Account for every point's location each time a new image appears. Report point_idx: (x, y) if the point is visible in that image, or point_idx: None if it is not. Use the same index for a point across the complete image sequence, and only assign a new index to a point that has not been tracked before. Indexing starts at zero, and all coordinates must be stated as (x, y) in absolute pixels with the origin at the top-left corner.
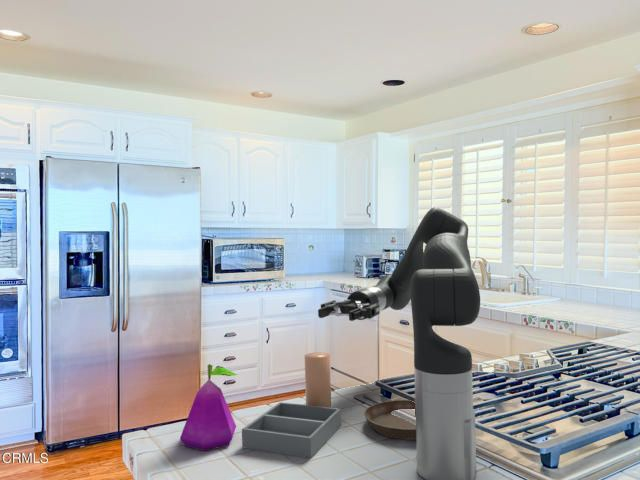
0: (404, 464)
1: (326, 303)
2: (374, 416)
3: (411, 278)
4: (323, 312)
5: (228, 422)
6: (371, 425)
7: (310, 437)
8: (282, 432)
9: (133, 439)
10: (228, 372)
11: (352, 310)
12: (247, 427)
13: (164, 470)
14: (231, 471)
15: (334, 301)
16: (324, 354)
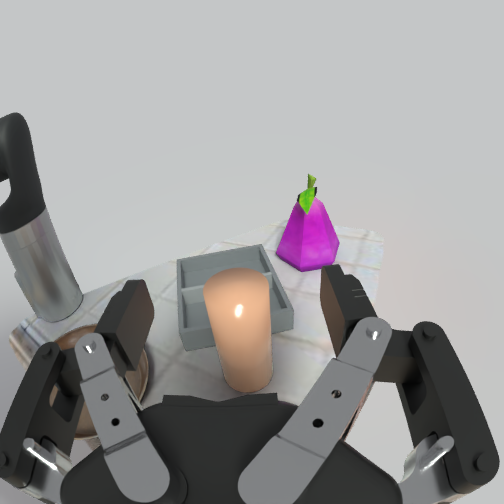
0: (92, 302)
1: (442, 366)
2: (141, 388)
3: None
4: (327, 296)
5: (283, 240)
6: None
7: (177, 260)
8: None
9: (367, 231)
10: (305, 199)
11: (130, 297)
12: (259, 248)
13: (285, 222)
14: (235, 239)
15: (464, 459)
16: (222, 298)
